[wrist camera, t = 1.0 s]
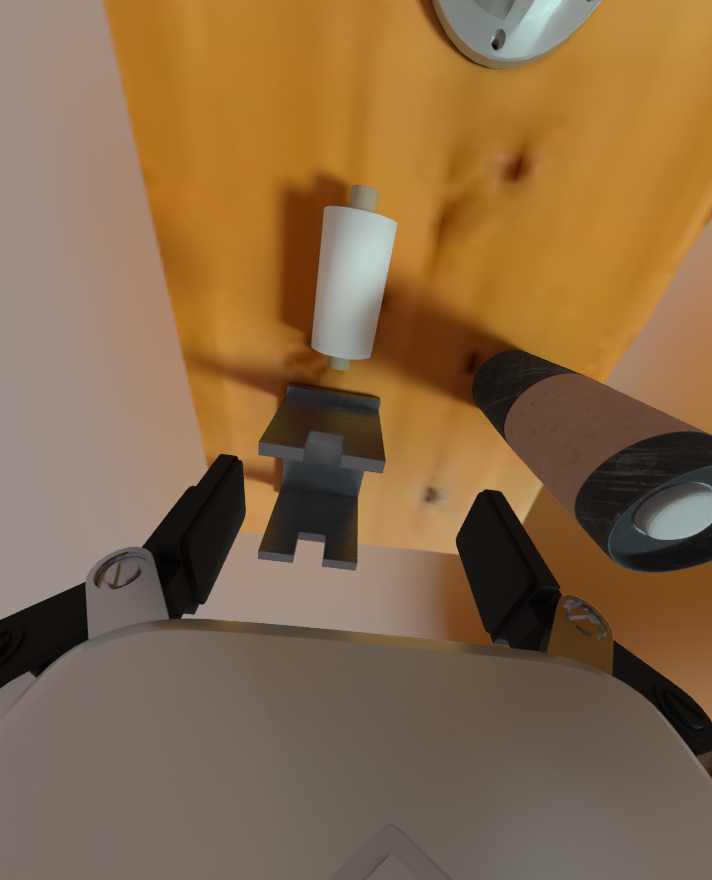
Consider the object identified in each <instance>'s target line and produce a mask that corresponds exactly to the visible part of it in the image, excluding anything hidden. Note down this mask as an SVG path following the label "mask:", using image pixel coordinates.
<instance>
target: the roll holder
mask: <svg viewBox="0 0 712 880" xmlns="http://www.w3.org/2000/svg"><path fill="white" fill-rule="evenodd" d="M379 406H380V398H378V397H372V396H367V395H361V394H355V393H349V392H343V391H337V390H331V389H326V388H320V387H314V386H308V385H302V384H296V383H289V384H288V386H287V395H286V397H285V399H284V400H283V402H282V404H281V405H280V407H279V409H278V410H277V412H276V414H275V415H274V417H273V419H272V421H271V422H270V424H269V426H268V427H267V429H266V431H265V432H264V434H263V436H262V437H261V439H260V441H259V455H263V456H270V457H276V458H283V468H282V486H281V490H280V492H279V495H278V498H277V501H276V503H275V506H274V509H273V512H272V514H271V517H270V520H269V523H268V525H267V528H266V531H265V534H264V536H263V539H262V542H261V545H260V548H259V550H258V559H265V560H273V561H281V562H290V563H293V559H294V555H295V551H296V547H297V542H298V539H299V540H307V541H315V542H323V543H325V546H324V554H323V562H322V567H331V568H339V569H347V570H356V566H357V536H358V495H359V491H360V486H361V482H362V478H363V474H364V471H370V472H377V473H383V469H384V466H385V462H386V460H385V453H384V446H383V439H382V432H381V424H380V417H379Z"/></svg>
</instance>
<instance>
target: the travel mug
mask: <svg viewBox="0 0 712 880" xmlns="http://www.w3.org/2000/svg"><path fill="white" fill-rule="evenodd" d="M473 396H474V400H475V402H476V404H477V405H478V406H479V408H480V409H481V411H482V412H483V413H484V414H485V416H486V417H487V418H488V419H489V421H490V422H491V423H492V425H493V426H494V427H495V428H496V430H497V431H498V432H499V433H500V435H501V436H502V437H503V439H504V440H505V441H506V442H507V444H508V445H509V446H510V447H511V448H512V450H513V451H514V452H515V453H516V454H517V455H518V456H519V457H520V458H521V460H522V461H523V462H524V463H525V464H526V465H527V466H528V467H529V469H530V470H531V471H532V472H533V473H534V474H535V475H536V476H537V477H538V479H539V480H540V481H541V482H542V483H543V484H544V485H545V486H546V487H547V489H548V490H549V491H550V492H551V493H552V494H553V495H554V496H555V498H556V499H557V500H558V501H559V502H560V503H561V504H562V505H563V507H564V508H565V509H566V510H567V511H568V512H569V513H570V514H571V515H572V517H573V518H574V519H575V520H576V521H577V522H578V523H579V524H580V525H581V527H582V528H583V529H584V530H585V531H586V532H587V533H588V534H589V536H590V537H591V538H592V539H593V540H594V541H595V542H596V543H597V545H598V546H599V547H600V548H601V549H602V550H603V551H604V552H605V553H606V554H607V555H608V556H609V557H610V558H611V559H612V560H613V561H614V562H615V563H617V564H619V565H620V566H622V567H624V568H626V569H630V570H633V571H638V572H648V573H659V572H670V571H676V570H682V569H686V568H690V567H694V566H698V565H701V564H704V563H707V562H709V561H712V435H710V434H708V433H706V432H704V431H702V430H700V429H698V428H696V427H693V426H691V425H689V424H687V423H685V422H683V421H681V420H679V419H676V418H674V417H672V416H670V415H668V414H666V413H664V412H662V411H659V410H657V409H655V408H653V407H651V406H649V405H647V404H645V403H643V402H640V401H638V400H636V399H634V398H631V397H630V396H628V395H625V394H623V393H621V392H619V391H617V390H615V389H613V388H611V387H609V386H606V385H604V384H602V383H600V382H598V381H596V380H594V379H592V378H589V377H587V376H585V375H582V374H580V373H577V372H575V371H572V370H570V369H567V368H565V367H562V366H560V365H557V364H555V363H552V362H550V361H547V360H545V359H542V358H540V357H537V356H535V355H532V354H529V353H527V352H523V351H508V352H504V353H501V354H498V355H496V356H494V357H493V358H491V359H490V360H488V361H487V362H486V363H485V364H484V365H483V366H482V367H481V369H480V370H479V371H478V373H477V375H476V377H475V380H474V383H473Z"/></svg>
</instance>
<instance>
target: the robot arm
mask: <svg viewBox="0 0 712 880" xmlns="http://www.w3.org/2000/svg"><path fill="white" fill-rule="evenodd" d="M601 1H602V0H432V3H433V6H434V9H435V12H436V15H437V17H438V19H439V21H440V22H441V24H442V26H443V28H444V30H445V32H446V34H447V36H448V37H449V38H450V39H451V41H452V42H453V43H454V44H455V45H456V47H457V48H458V49H459V50H460V52H462V53H463V54H465V55H466V56H467V57H469V58H470V59H471V60H473V61H474V62H475V63H478V64H481V65H484V66H487V67H489V68H493V69H513V68H517V67H521V66H525V65H529V64H531V63H533V62H535V61H537V60H539V59H541V58H543V57H545V56H547V55H548V54H549V53H551V52H552V51H553V50H555V49H556V48H557V47H559V46H560V45H561V44H562V43H564V42H565V41H566V40H567V39H568V38H569V37H570V36H571V35H572V34H573V33H574V32H575V31H576V30H577V29H578V28H579V27H580V26H581V25H582V23H583V22H584V21H585V20H586V19H587V18H588V17H589V15H590V14H591V13H592V12H593V11H594V10H595V8H596V7H597V6H598V5H599V4H600V2H601ZM491 44H494V45H496V51H495V50H494V49H493V48H492V45H491ZM245 514H246V506H245V491H244V476H243V463H242V461H241V460H238V457H237V456H233V455H226V454H220V455H219V456H218V458H217V459H216V460H215V462H214V463H213V464H212V466H211V467H210V468H209V470H208V471H207V472H206V474H205V475H204V476H203V478H202V479H201V480H200V482H199V483H198V484H197V486H191V487H189V488H188V489H187V490H186V491H185V493H184V494H183V495H182V497H181V498H180V499H179V500H178V502H177V503H176V504H175V505H174V507H173V508H172V509H171V511H170V512H169V513H168V514H167V516H166V517H165V518H164V519H163V521H162V522H161V523H160V525H159V526H158V527H157V528H156V530H155V531H154V532H153V534H152V535H151V536H150V538H149V539H148V540H147V541H146V543H145V544H144V545H143V546H142V548H140V547H129V548H124V549H121V550H118V551H115V552H114V553H111V554H109V555H107V556H106V557H104V558H103V559H101V560H100V561H99V562H98V563H97V564H96V565H95V566H94V567H93V568H92V569H91V570H90V572H89V574H88V576H87V578H86V582H84V583H82V584H80V585H77V586H75V587H73V588H71V589H69V590H66V591H64V592H62V593H59V594H57V595H55V596H53V597H51V598H48V599H46V600H44V601H42V602H39V603H37V604H35V605H33V606H30V607H28V608H26V609H24V610H21V611H19V612H17V613H15V614H13V615H10V616H8V617H6V618H4V619H1V620H0V880H712V722H711V720H710V718H709V717H708V716H707V714H706V713H705V712H704V711H703V709H702V708H701V707H700V706H699V705H698V704H697V703H696V702H695V701H694V700H693V699H692V698H691V697H690V696H689V695H688V694H687V693H685V692H684V691H683V690H682V689H680V688H679V687H678V686H677V685H675V684H674V683H672V682H671V681H670V680H668V679H667V678H665V677H664V676H663V675H661V674H660V673H659V672H657V671H656V670H654V669H653V668H652V667H650V666H649V665H647V664H646V663H645V662H643V661H642V660H640V659H639V658H638V657H636V656H635V655H634V654H632V653H631V652H629V651H628V650H627V649H625V648H624V647H623V646H621V645H620V644H618V643H617V642H616V641H614V639H613V638H614V637H613V631H612V629H611V627H610V625H609V623H608V622H607V620H606V619H605V618H604V616H603V615H602V614H601V613H600V612H599V611H598V610H597V609H596V608H595V607H594V606H592V605H591V604H590V603H588V602H587V601H585V600H583V599H581V598H579V597H576V596H573V595H564V596H562V594H561V593H560V591H559V589H560V586H559V584H558V583H557V581H556V579H555V578H554V576H553V575H552V573H551V571H550V570H549V568H548V567H547V565H546V563H545V562H544V560H543V559H542V557H541V555H540V553H539V552H538V550H537V549H536V547H535V545H534V544H533V542H532V540H531V539H530V537H529V536H528V534H527V532H526V531H525V529H524V528H523V526H522V524H521V523H520V521H519V519H518V518H517V516H516V515H515V513H514V511H513V510H512V508H511V506H510V505H509V503H508V502H507V500H506V498H505V497H504V495H503V494H502V492H500V491H495V490H488V489H485V490H483V492H480V493H479V494H478V495H477V497H476V499H475V501H474V503H473V505H472V507H471V509H470V511H469V513H468V515H467V517H466V519H465V521H464V523H463V525H462V527H461V529H460V531H459V533H458V535H457V537H456V545H457V549H458V552H459V555H460V557H461V560H462V563H463V566H464V569H465V572H466V575H467V578H468V581H469V584H470V587H471V590H472V593H473V596H474V599H475V602H476V605H477V608H478V611H479V614H480V617H481V620H482V623H483V626H484V628H485V630H486V632H488V633H490V636H491V638H492V642H493V644H503V645H509V646H510V648H508V647H500V646H491V645H482V644H472V643H462V642H452V641H443V640H433V639H423V638H413V637H403V636H393V635H383V634H372V633H362V632H351V631H341V630H330V629H320V628H309V627H297V626H287V625H276V624H265V623H252V622H239V621H226V620H212V619H181V617H182V615H183V614H195V612H196V610H197V608H198V606H199V604H204V603H205V602H206V600H207V598H208V596H209V594H210V592H211V590H212V587H213V585H214V583H215V581H216V579H217V577H218V575H219V573H220V570H221V568H222V566H223V564H224V562H225V560H226V557H227V555H228V553H229V551H230V549H231V547H232V545H233V542H234V540H235V538H236V536H237V534H238V532H239V529H240V527H241V525H242V523H243V521H244V518H245Z"/></svg>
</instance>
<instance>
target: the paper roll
mask: <svg viewBox="0 0 712 880" xmlns="http://www.w3.org/2000/svg"><path fill="white" fill-rule="evenodd" d="M378 193H379V192H378V191H377V190H375V189H373V188H370V187H367V186H362V185H353V186H352V187H351V195H350V203H349V208H348V207H341V206H326V207H324V215H323V225H322V236H321V247H320V257H319V268H318V278H317V289H316V300H315V310H314V321H313V331H312V342H311V347H312V348H313V349H314V350H316V351H318V352H320V353H323V354H326V355H329V356H330V358H329V367H331V368H333V369H336V370H349V367H350V361H351V359H353V360H362V359H368V358H370V357H371V353H372V348H373V343H374V338H375V333H376V328H377V323H378V318H379V314H380V309H381V304H382V299H383V294H384V289H385V284H386V279H387V274H388V269H389V264H390V259H391V254H392V249H393V244H394V239H395V234H396V229H397V223H396V222H395V221H393V220H391V219H389V218H387V217H384V216H381V215H378V214H375V211H376V205H377V199H378Z"/></svg>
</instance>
